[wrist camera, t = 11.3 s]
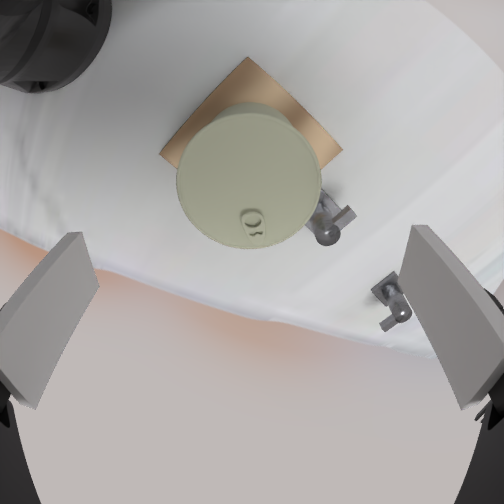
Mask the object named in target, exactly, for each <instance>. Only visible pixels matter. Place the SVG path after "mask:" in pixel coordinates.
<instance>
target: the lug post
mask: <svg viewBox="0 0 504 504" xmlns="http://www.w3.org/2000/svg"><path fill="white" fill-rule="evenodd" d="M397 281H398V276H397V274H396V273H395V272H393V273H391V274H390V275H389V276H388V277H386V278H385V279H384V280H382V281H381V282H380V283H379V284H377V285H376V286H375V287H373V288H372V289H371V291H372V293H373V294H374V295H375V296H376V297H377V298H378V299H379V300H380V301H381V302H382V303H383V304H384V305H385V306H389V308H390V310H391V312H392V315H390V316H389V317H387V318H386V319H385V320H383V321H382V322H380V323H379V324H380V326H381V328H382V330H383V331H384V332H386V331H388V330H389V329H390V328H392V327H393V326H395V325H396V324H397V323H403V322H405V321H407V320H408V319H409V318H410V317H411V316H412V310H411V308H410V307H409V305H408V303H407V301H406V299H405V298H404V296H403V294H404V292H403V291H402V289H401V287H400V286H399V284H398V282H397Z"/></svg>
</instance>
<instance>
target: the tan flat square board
mask: <svg viewBox="0 0 504 504" xmlns="http://www.w3.org/2000/svg"><path fill="white" fill-rule="evenodd" d="M245 102H255V103H262V104H266V105H268V106H271V107H273V108H275V109H276V110H278V111H279V112H281V113H282V114H283V115H284V116H285V117H286V118H287V119H288V120H289V121H290V123H291V124H292V126H293V127H294V128H295V129H297V130H298V131H299V132H300V133H301V134H302V135H303V136H304V137H305V138H306V139H307V141H308V142H309V143H310V145H311V146H312V148H313V150H314V152H315V154H316V156H317V159H318V162H319V165H320V169H322V168H323V167H324V166H326V165H327V164H328V163H329V162H330V161H331V160H332V159H333V158H334V157H335V156H337V155H338V154H339V153H340V152H341V151H342V150H343V149H342V148H341V147H340V146H339V145H338V144H337V143H336V141H335V140H334V139H333V138H332V137H331V136H330V135H329V134H328V133H327V132H326V131H325V130H324V128H323V127H322V126H321V125H320V124H319V123H318V122H317V121H316V120H315V119H314V118H313V117H312V116H311V115H310V114H309V113H308V112H307V111H306V110H305V109H304V108H303V107H302V106H301V105H300V104H299V103H298V102H297V101H296V100H295V99H294V98H293V97H292V96H291V95H290V94H289V93H288V92H287V91H286V90H285V89H284V88H282V87H281V86H280V85H279V84H278V83H277V82H276V81H275V80H274V79H273V78H272V77H271V76H269V75H268V74H267V73H266V72H265V71H264V70H263V69H262V68H260V67H259V66H258V65H257V64H256V63H255V62H253V61H252V60H251V59H250V58H249V57H247V58H246V59H245V60H244V61H243V62H242V63H241V64H240V65H239V66H238V67H237V68H236V69H235V70H234V71H233V72H232V73H231V74H230V75H229V76H228V77H227V78H226V79H225V80H224V81H223V82H222V83H221V84H220V85H219V86H218V87H217V88H216V89H215V90H214V91H213V92H212V93H211V94H210V95H209V97H208V98H207V99H206V100H205V101H204V102H203V103H202V104H201V105H200V106H199V107H198V109H197V110H196V111H195V112H194V113H193V114H192V115H191V116H190V118H189V119H188V120H187V121H186V122H185V123H184V124H183V126H182V127H181V128H180V129H179V130H178V132H177V133H176V134H175V135H174V136H173V138H172V139H171V140H170V141H169V142H168V144H167V145H166V146H165V147H164V149H163V150H162V151H161V152H160V155H161V156H162V157H163V158H164V159H166V160H167V161H168V162H169V163H170V164H172V165H173V166H174V167H175V168H178V164H179V161H180V158H181V155H182V153H183V151H184V149H185V147H186V146H187V144H188V143H189V141H190V140H191V139H192V138H193V137H194V135H195V134H196V133H197V132H199V131H200V130H201V129H202V128H203V127H205V126H206V125H208V124H209V123H211V122H212V120H213V119H214V118H215V117H216V116H217V115H218V114H219V113H220V112H222V111H223V110H225V109H226V108H228V107H230V106H233V105H236V104H239V103H245Z"/></svg>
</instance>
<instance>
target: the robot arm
mask: <svg viewBox="0 0 504 504" xmlns="http://www.w3.org/2000/svg"><path fill="white" fill-rule="evenodd" d="M111 12H112V6H111V0H0V85H3V86H6V87H9V88H12V89H16V90H19V91H21V92H25V93H42V92H48V91H53V90H56V89H59V88H61V87H63V86H65V85H67V84H69V83H70V82H72V81H73V80H74V79H76V78H77V77H78V76H79V75H80V74H81V73H82V72H83V71H84V70H85V69H86V68H87V67H88V66H89V65H90V63H91V62H92V61H93V59H94V58H95V56H96V55H97V53H98V52H99V50H100V48H101V46H102V44H103V42H104V40H105V38H106V35H107V32H108V29H109V25H110V21H111ZM397 282H398V284H399V286H400V287H401V289H402V291H403V292H404V294H405V296H406V298H407V300H408V301H409V303H410V305H411V307H412V309H413V310H414V312H415V314H416V316H417V318H418V320H419V321H420V323H421V325H422V327H423V329H424V331H425V333H426V335H427V337H428V339H429V341H430V343H431V345H432V347H433V349H434V351H435V353H436V355H437V357H438V359H439V361H440V363H441V365H442V367H443V369H444V372H445V374H446V376H447V378H448V380H449V383H450V385H451V387H452V390H453V391H454V394H455V396H456V399H457V401H458V403H459V406H460V408H461V410H464V409H467V408H469V407H472V406H475V405H478V404H479V403H480V402H481V401H482V400H483V398H484V397H485V396H486V395H487V394H489V396H490V398H491V400H490V401H489V402H488V404H487V405H486V406H485V407H484V408H483V409H482V410H481V411H480V412H479V413H478V414H477V416H476V418H475V420H476V421H477V420H478V419H479V418H480V417H481V416H482V415H483V414H484V413H485V414H484V418H483V419H482V420H481V423H482V427H481V430H480V434H479V437H478V441H477V444H476V448H475V450H474V454H473V457H472V460H471V462H470V465H469V468H468V471H467V474H466V476H465V479H464V482H463V484H462V486H461V489H460V491H459V494H458V496H457V498H456V501H455V503H454V504H504V309H503V306H502V305H501V304H500V302H499V301H498V300H497V299H496V297H495V296H493V295H492V294H491V293H490V292H488V291H487V290H486V289H485V288H484V289H483V287H482V286H481V285H480V284H479V282H478V281H477V280H476V279H475V277H474V276H473V275H472V274H471V273H470V271H469V270H468V269H467V268H466V267H465V266H464V264H463V263H462V262H461V261H460V260H459V259H458V258H457V256H456V255H455V254H454V253H453V252H452V251H451V250H450V249H449V248H448V246H447V245H446V244H445V243H444V242H443V241H442V240H441V239H440V238H439V237H438V236H437V235H436V234H435V233H434V232H433V231H432V229H431V228H430V227H429V226H428V225H412V226H411V231H410V235H409V239H408V243H407V248H406V252H405V255H404V259H403V263H402V267H401V270H400V274H399V277H398V281H397ZM98 288H99V283H98V280H97V277H96V275H95V272H94V269H93V266H92V263H91V260H90V257H89V254H88V250H87V247H86V244H85V241H84V237H83V234H82V232H70V233H67V234H66V235H65V236H64V237H63V238H62V239H61V240H60V241H59V242H58V243H57V244H56V246H55V247H54V248H53V249H52V250H51V251H50V252H49V253H48V254H47V255H46V256H45V258H44V259H43V260H42V261H41V262H40V263H39V264H38V265H37V266H36V268H35V269H34V270H33V271H32V272H31V273H30V275H29V276H28V277H27V278H26V279H25V280H24V282H23V283H22V284H21V285H20V287H19V288H18V289H17V291H16V292H15V293H14V294H13V295H12V297H11V298H10V299H9V300H8V302H7V303H5V304H4V305H3V307H2V308H1V310H0V504H41V502H40V500H39V497H38V495H37V492H36V489H35V486H34V484H33V481H32V478H31V475H30V472H29V469H28V466H27V462H26V459H25V456H24V452H23V448H22V444H21V441H20V436H19V432H18V428H17V423H16V419H15V414H14V409H13V405H12V403H11V402H10V401H9V400H8V399H9V397H10V395H11V394H12V395H13V397H14V398H15V399H16V400H17V401H18V402H19V403H20V404H21V405H24V406H27V407H29V408H32V409H36V408H37V405H38V403H39V401H40V399H41V396H42V394H43V391H44V390H45V387H46V385H47V383H48V381H49V379H50V377H51V375H52V372H53V370H54V368H55V366H56V364H57V362H58V360H59V358H60V356H61V354H62V352H63V351H64V349H65V347H66V344H67V343H68V341H69V339H70V337H71V335H72V334H73V332H74V330H75V328H76V326H77V324H78V323H79V321H80V319H81V317H82V315H83V314H84V312H85V310H86V309H87V307H88V305H89V303H90V302H91V300H92V298H93V297H94V295H95V293H96V292H97V290H98Z"/></svg>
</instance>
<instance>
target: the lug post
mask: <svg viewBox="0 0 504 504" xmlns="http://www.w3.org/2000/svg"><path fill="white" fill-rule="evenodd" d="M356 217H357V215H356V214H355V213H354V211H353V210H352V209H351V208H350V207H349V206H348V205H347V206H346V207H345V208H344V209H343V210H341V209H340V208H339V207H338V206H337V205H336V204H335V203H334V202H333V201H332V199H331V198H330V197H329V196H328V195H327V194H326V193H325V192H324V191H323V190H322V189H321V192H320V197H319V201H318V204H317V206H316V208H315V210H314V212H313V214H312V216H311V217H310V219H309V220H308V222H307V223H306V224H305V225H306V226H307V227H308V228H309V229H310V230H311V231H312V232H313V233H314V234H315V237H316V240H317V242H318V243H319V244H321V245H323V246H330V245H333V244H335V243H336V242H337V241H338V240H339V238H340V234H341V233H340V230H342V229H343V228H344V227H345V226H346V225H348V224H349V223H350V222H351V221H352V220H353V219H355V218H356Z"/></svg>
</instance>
